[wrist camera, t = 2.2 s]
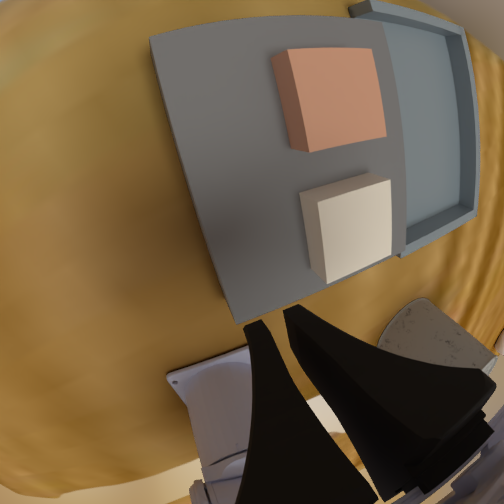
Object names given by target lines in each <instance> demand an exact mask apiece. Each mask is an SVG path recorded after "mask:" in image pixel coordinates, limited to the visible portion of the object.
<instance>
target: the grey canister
mask: <svg viewBox="0 0 504 504" xmlns="http://www.w3.org/2000/svg"><path fill="white" fill-rule="evenodd" d="M377 348H380V349H382V350H385V351H388V352H391V353H394V354H397V355H400V356H403V357H406V358H410V359H414V360H418V361H423V362H427V363H431V364H437V365H443V366H450V367H463V368H479V369H481V370H482V371H483V372H484V373H485V374H487V375H488V376H489V374H490V372H491V371H492V369H493V367H494V366H495V364H496V362H497V359H498V357H497V355H494V354H493V353H492V352H491V351H490V350H488V349H487V348H486V347H485V346H484V345H483V344H481V343H480V342H479V341H478V340H477V339H476V338H474V337H473V336H472V335H471V334H470V333H468V332H467V331H466V330H465V329H463V328H462V327H461V326H460V325H459V324H457V323H456V322H455V321H454V320H452V319H451V318H450V317H449V316H447V315H446V314H445V313H444V312H442V311H441V310H440V309H439V308H437V307H436V306H435V305H433V304H432V303H431V302H430V301H429V300H428V299H426V298H418V299H416V300H414V301H412V302H410V303H409V304H407V305H406V306H405V307H404V308H402V309H401V310H400V311H399V312H398V313H397V314H396V315H395V316H394V317H393V319H392V320H391V321H390V322H389V324H388V325H387V326H386V328H385V330H384V331H383V333H382V335H381V337H380V339H379V341H378V345H377Z"/></svg>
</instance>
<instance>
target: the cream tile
mask: <svg viewBox="0 0 504 504" xmlns="http://www.w3.org/2000/svg"><path fill="white" fill-rule="evenodd" d="M299 195H300V201H301V207H302V213H303V219H304V225H305V231H306V238H307V245H308V252H309V259H310V266H311V269H312V270H313V271H314V272H315V273H316V274H317V275H318V276H319V277H320V278H321V279H322V280H323V281H324V282H325V283H326V284H329V283H331V282H333V281H335V280H338V279H340V278H342V277H344V276H347V275H349V274H351V273H353V272H355V271H358V270H360V269H362V268H364V267H366V266H368V265H370V264H372V263H375V262H377V261H379V260H381V259H383V258H385V257H387V256H389V255H391V245H392V207H391V181H390V179H388V178H384V177H381V176H378V175H375V174H372V173H365V174H362V175H358V176H354V177H351V178H347V179H344V180H340V181H337V182H334V183H330V184H327V185H323V186H320V187H317V188H313V189H310V190H307V191H304V192H300V193H299Z"/></svg>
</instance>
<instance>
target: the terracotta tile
mask: <svg viewBox="0 0 504 504" xmlns="http://www.w3.org/2000/svg"><path fill="white" fill-rule="evenodd" d="M271 62H272V66H273V70H274V74H275V78H276V83H277V87H278V91H279V95H280V100H281V104H282V109H283V113H284V118H285V122H286V127H287V132H288V137H289V142H290V147H291V149H295V150H299V151H304V152H309V153H310V152H314V151H319V150H323V149H327V148H332V147H336V146H341V145H346V144H350V143H355V142H360V141H365V140H370V139H376V138H381V137H387V134H386V126H385V118H384V111H383V105H382V98H381V92H380V87H379V81H378V76H377V71H376V67H375V62H374V57H373V53H372V49H367V48H301V49H287V50H285V51H283V52H281V53H279V54H277V55H275V56H274V57H272V58H271Z"/></svg>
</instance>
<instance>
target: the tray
mask: <svg viewBox="0 0 504 504" xmlns="http://www.w3.org/2000/svg"><path fill="white" fill-rule="evenodd" d="M348 9H349V13H350V16H351V18H355V19H364V20H371V21H378V22H382V25H383V28H384V32H385V36H386V40H387V44H388V48H389V52H390V56H391V61H392V66H393V70H394V76H395V81H396V87H397V93H398V99H399V106H400V113H401V121H402V130H403V140H404V151H405V167H406V195H407V219H406V248H405V251H403V252H401V253H399V254H397V255H396V256H398V257H399V258H402V257H404V256H406V255H408V254H410V253H412V252H414V251H416V250H418V249H420V248H421V247H423V246H425V245H427V244H429V243H431V242H433V241H434V240H436V239H438V238H440V237H442V236H443V235H445V234H447V233H449V232H450V231H452V230H454V229H456V228H457V227H459V226H461V225H463V224H464V223H466V222H468V221H469V220H471V219H473V218H474V217H476V216H477V208H478V197H479V181H480V130H479V115H478V104H477V95H476V87H475V80H474V74H473V68H472V63H471V57H470V53H469V48H468V44H467V40H466V36H465V32H464V28H463V27H460V26H458V25H455V24H453V23H450V22H448V21H445V20H443V19H440V18H437V17H434V16H431V15H428V14H425V13H422V12H419V11H416V10H413V9H409V8H406V7H402V6H398V5H394V4H390V3H386V2H381V1H377V0H365V1H363V2H360V3H358V4H355V5H353V6H351V7H348Z"/></svg>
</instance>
